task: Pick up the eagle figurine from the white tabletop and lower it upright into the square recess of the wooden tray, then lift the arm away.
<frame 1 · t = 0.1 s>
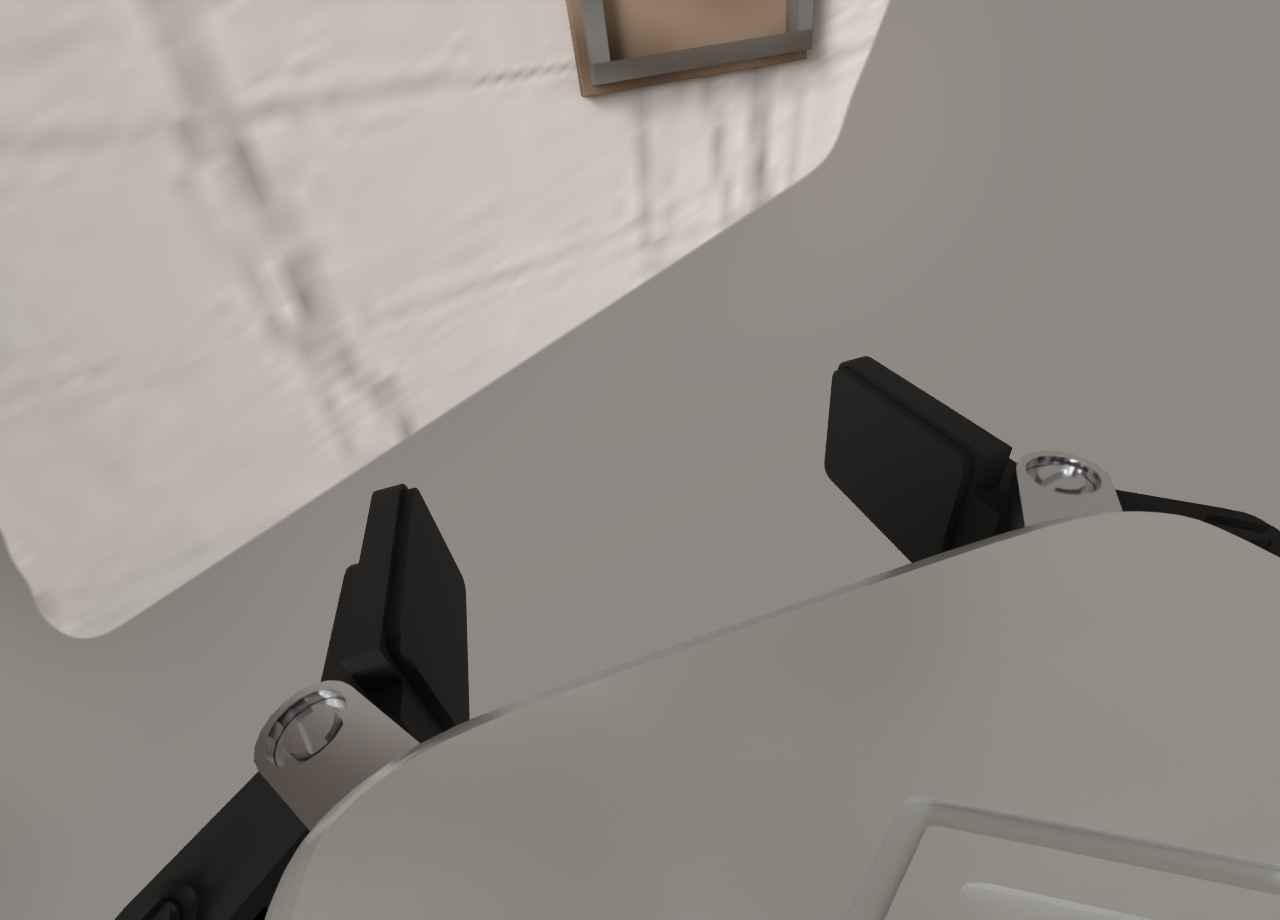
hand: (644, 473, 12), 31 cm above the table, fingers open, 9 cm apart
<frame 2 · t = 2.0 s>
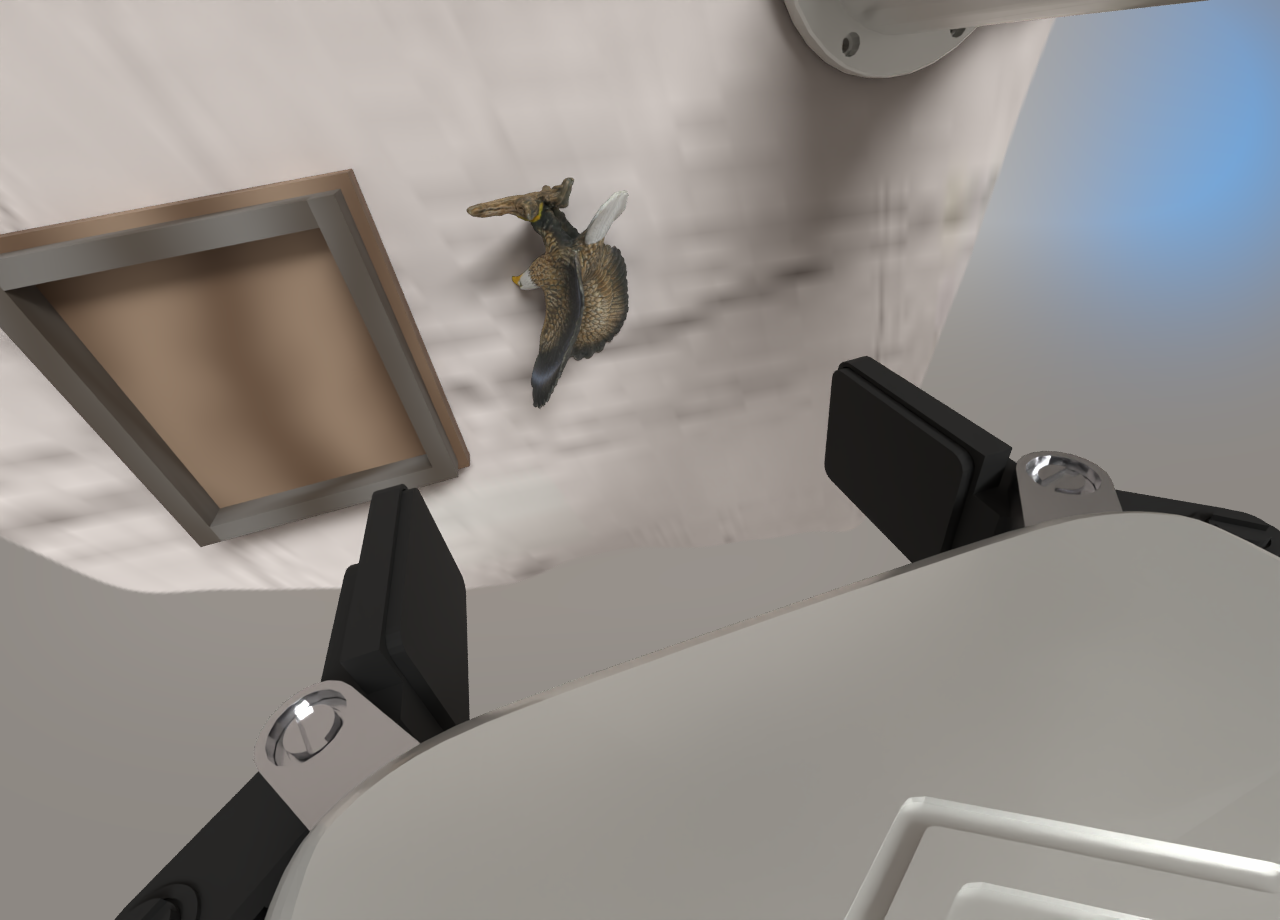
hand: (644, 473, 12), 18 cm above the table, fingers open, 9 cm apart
wooden tray: (274, 369, 26), on the table
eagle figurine: (556, 274, 27), on the table
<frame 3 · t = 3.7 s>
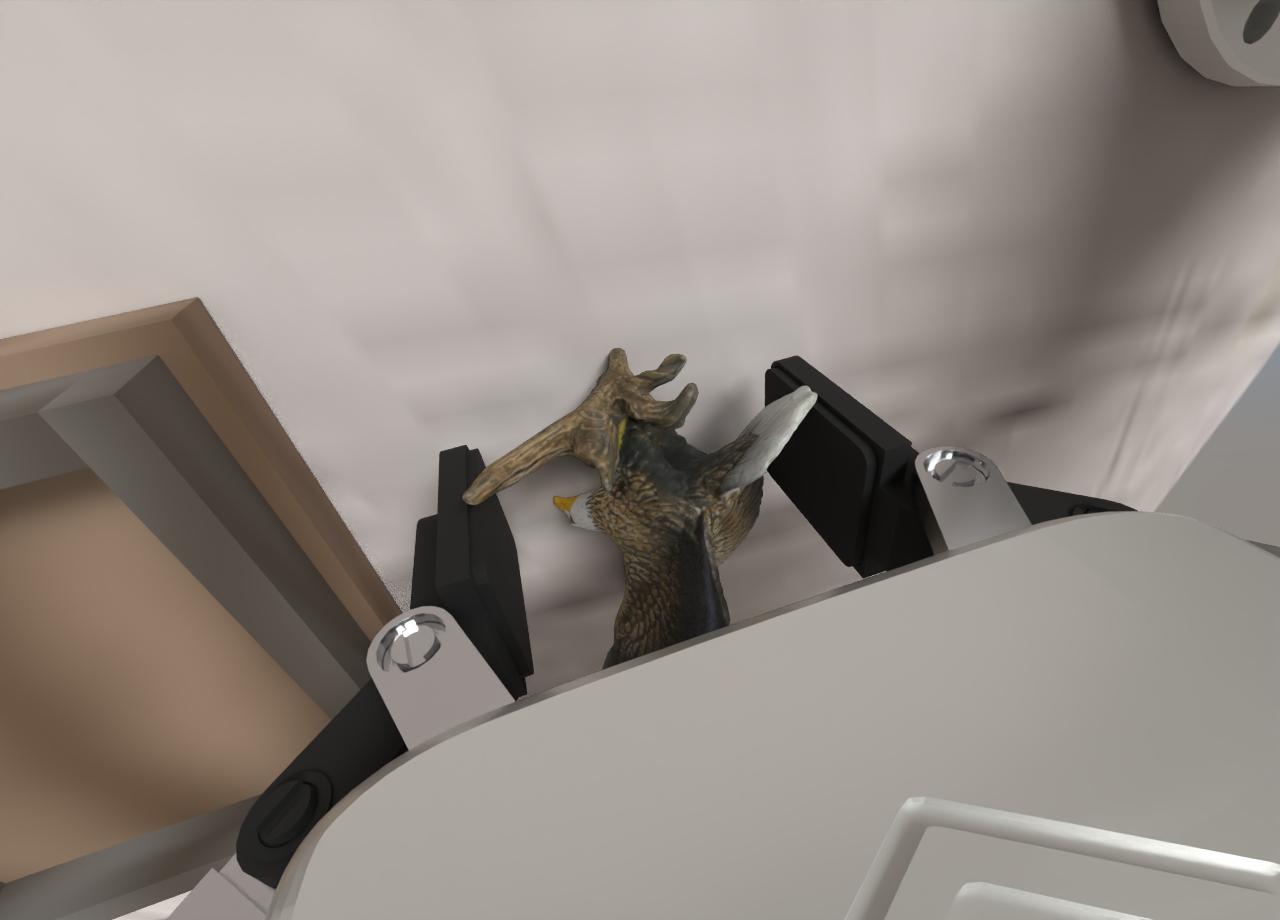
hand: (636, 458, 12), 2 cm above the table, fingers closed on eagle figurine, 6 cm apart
wooden tray: (84, 659, 13), on the table
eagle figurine: (629, 477, 15), on the table, touching gripper
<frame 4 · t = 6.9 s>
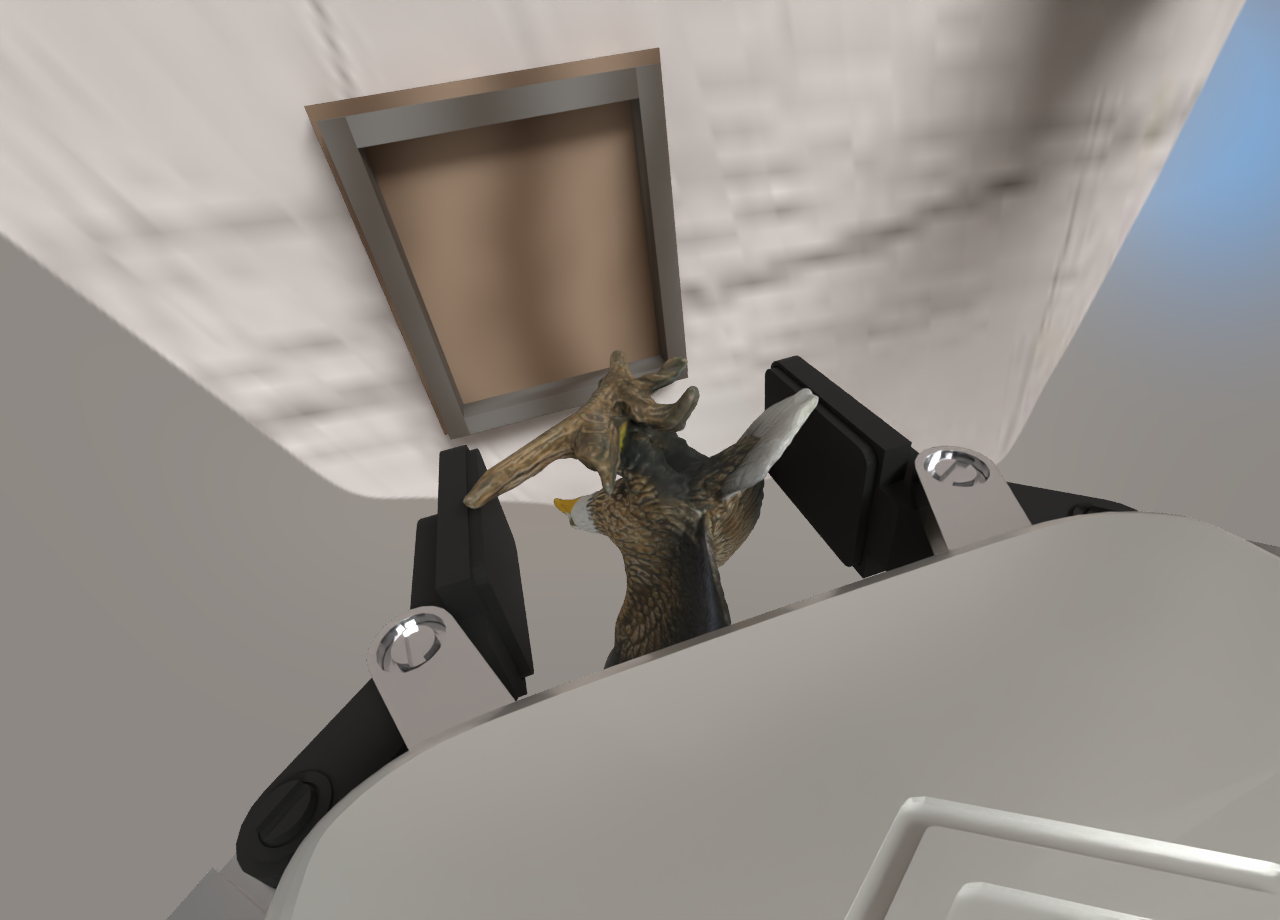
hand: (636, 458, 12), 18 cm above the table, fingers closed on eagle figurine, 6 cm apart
wooden tray: (534, 261, 26), on the table
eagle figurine: (630, 479, 15), point 16 cm above the table, touching gripper
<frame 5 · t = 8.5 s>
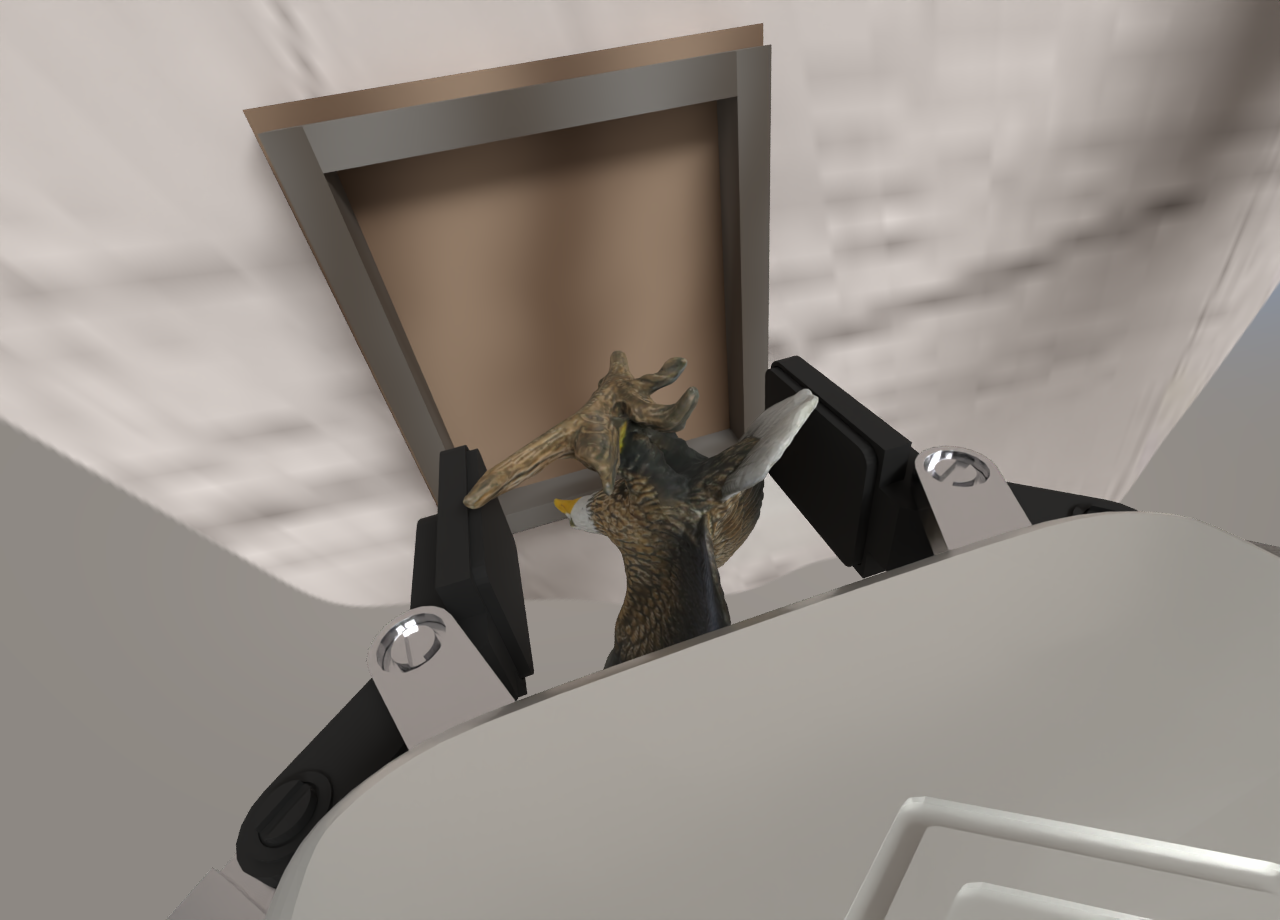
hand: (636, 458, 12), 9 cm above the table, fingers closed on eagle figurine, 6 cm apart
wooden tray: (572, 316, 20), on the table
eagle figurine: (630, 479, 15), point 7 cm above the table, touching gripper
when the fingers open (4 cm above the table, at t = 10.0 s): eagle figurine stays where it is, resting on wooden tray.
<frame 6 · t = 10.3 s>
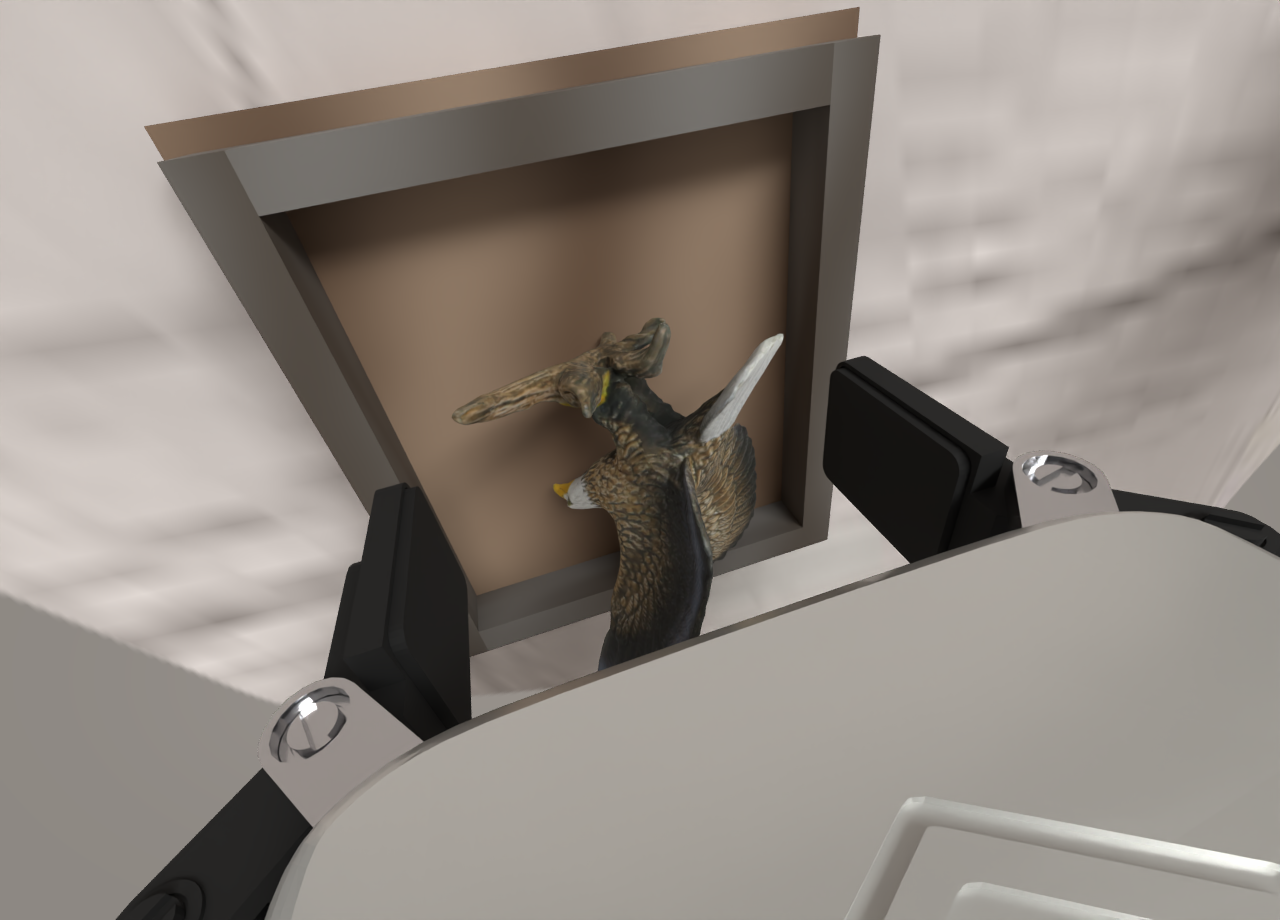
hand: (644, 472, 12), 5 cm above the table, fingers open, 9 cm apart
wooden tray: (595, 377, 16), on the table
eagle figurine: (627, 468, 16), point 2 cm above the table, touching wooden tray
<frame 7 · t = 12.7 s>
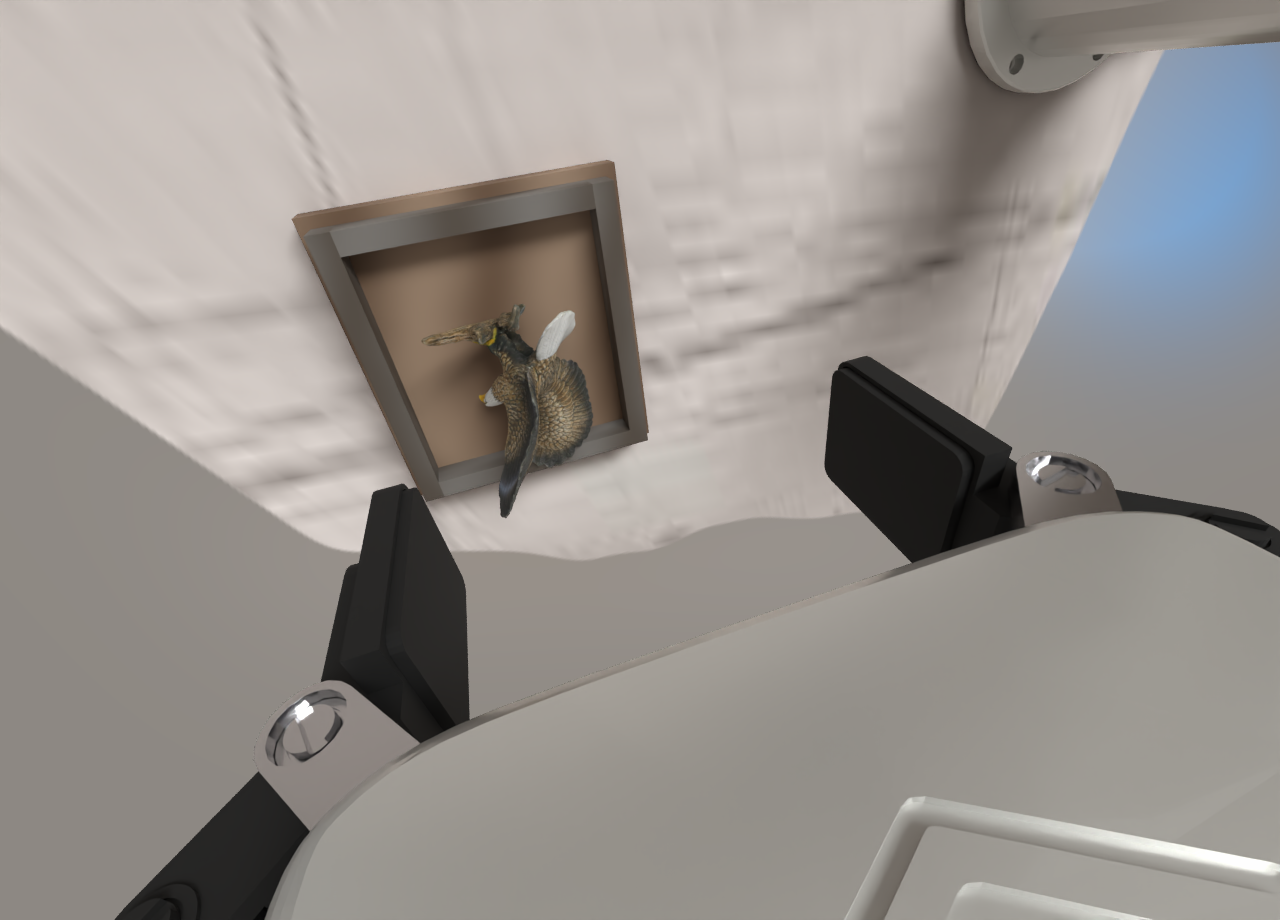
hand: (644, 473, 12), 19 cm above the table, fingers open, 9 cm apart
wooden tray: (504, 339, 29), on the table
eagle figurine: (521, 389, 29), point 2 cm above the table, touching wooden tray
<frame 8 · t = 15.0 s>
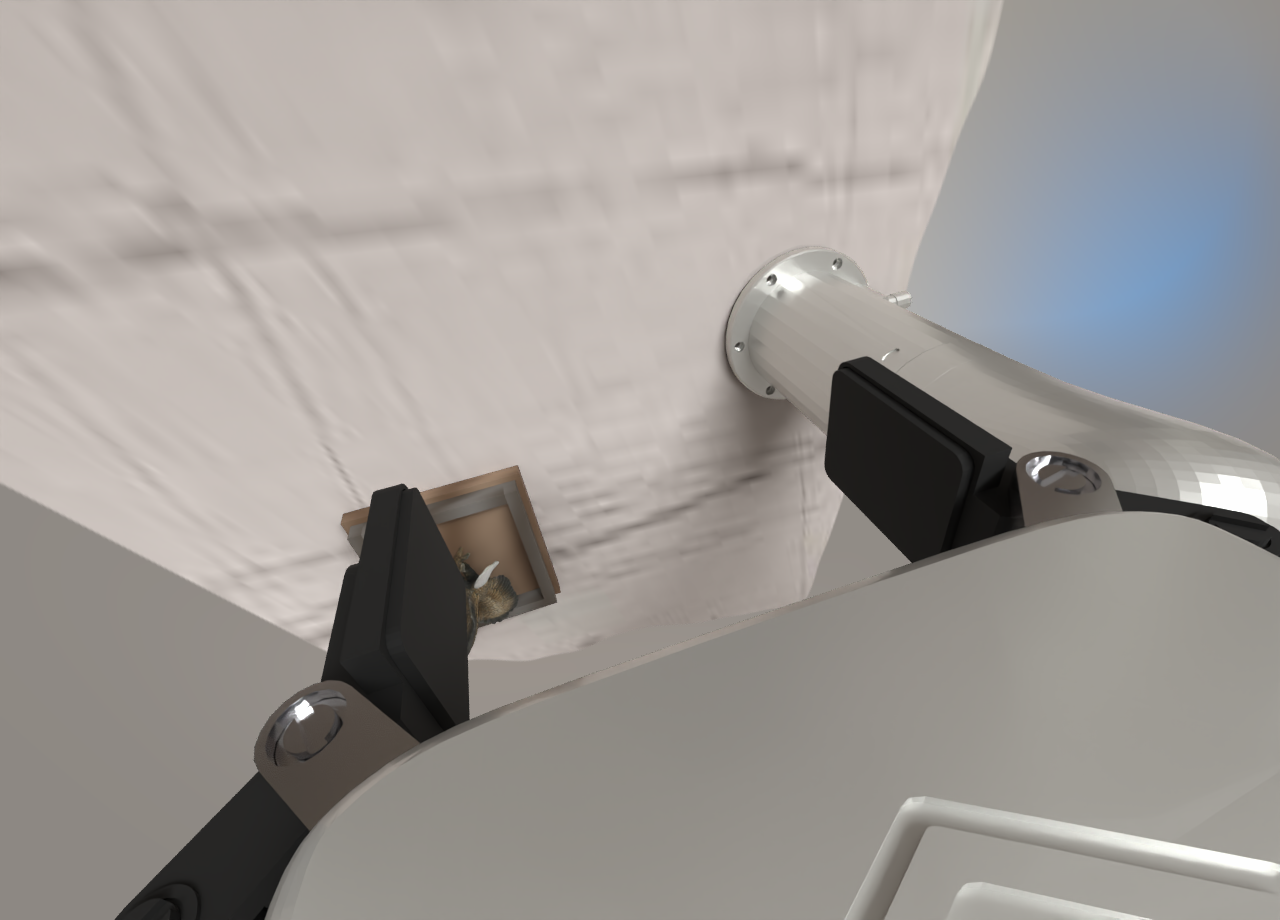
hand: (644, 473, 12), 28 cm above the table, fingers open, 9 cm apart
wooden tray: (463, 552, 48), on the table
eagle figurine: (473, 583, 47), point 2 cm above the table, touching wooden tray
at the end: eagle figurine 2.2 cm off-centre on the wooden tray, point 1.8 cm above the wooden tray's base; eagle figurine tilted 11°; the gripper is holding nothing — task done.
